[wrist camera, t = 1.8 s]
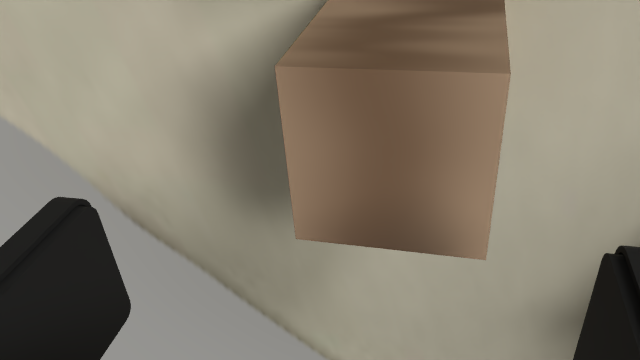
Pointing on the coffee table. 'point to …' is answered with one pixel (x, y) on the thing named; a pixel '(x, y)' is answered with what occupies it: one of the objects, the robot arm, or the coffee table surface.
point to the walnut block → (396, 123)
